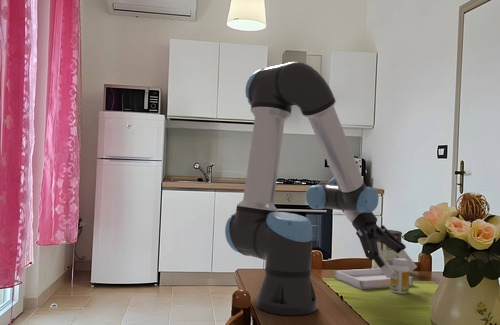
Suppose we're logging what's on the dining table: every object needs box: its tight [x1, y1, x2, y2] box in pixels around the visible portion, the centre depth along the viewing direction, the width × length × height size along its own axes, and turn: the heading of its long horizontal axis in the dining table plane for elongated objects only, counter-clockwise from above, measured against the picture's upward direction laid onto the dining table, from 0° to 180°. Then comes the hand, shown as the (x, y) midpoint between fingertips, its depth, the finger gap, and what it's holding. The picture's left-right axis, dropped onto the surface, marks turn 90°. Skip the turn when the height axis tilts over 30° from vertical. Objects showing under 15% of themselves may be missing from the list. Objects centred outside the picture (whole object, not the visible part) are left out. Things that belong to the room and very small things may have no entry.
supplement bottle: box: [389, 258, 410, 295], centre depth 135 cm, size 5×5×10 cm
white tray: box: [334, 268, 414, 290], centre depth 146 cm, size 20×14×2 cm
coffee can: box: [371, 229, 403, 269], centre depth 166 cm, size 10×10×14 cm
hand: (402, 272), depth 135 cm, fingers open, 13 cm apart
